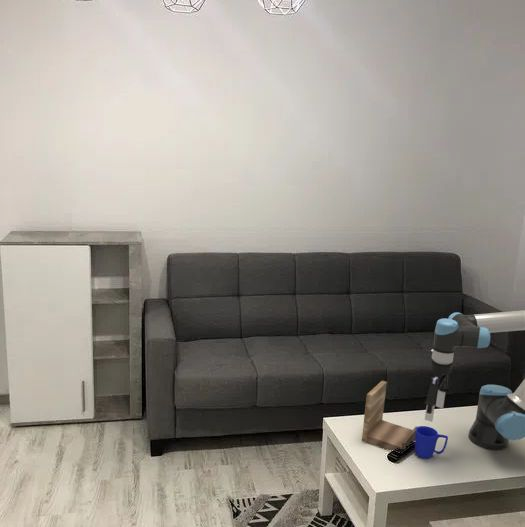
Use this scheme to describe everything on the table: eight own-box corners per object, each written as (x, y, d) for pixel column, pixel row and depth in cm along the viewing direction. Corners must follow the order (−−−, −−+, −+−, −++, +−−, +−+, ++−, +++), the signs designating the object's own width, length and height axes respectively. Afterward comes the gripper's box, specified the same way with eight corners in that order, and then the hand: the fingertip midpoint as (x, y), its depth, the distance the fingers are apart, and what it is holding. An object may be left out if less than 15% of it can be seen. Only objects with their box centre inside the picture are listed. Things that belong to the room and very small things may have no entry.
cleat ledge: (416, 438, 246) (418, 427, 245) (403, 455, 233) (404, 443, 231) (381, 426, 253) (382, 415, 252) (366, 442, 240) (367, 431, 239)
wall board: (381, 426, 253) (386, 382, 249) (366, 442, 240) (371, 395, 235) (376, 425, 254) (382, 380, 250) (361, 441, 241) (366, 394, 236)
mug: (445, 464, 228) (449, 439, 226) (412, 458, 231) (416, 434, 228) (444, 452, 236) (447, 429, 234) (412, 447, 238) (415, 424, 236)
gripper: (441, 348, 237) (434, 398, 242) (420, 368, 216) (413, 423, 221) (461, 353, 233) (453, 404, 238) (442, 374, 212) (433, 429, 217)
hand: (434, 413), depth 229 cm, fingers open, 13 cm apart
